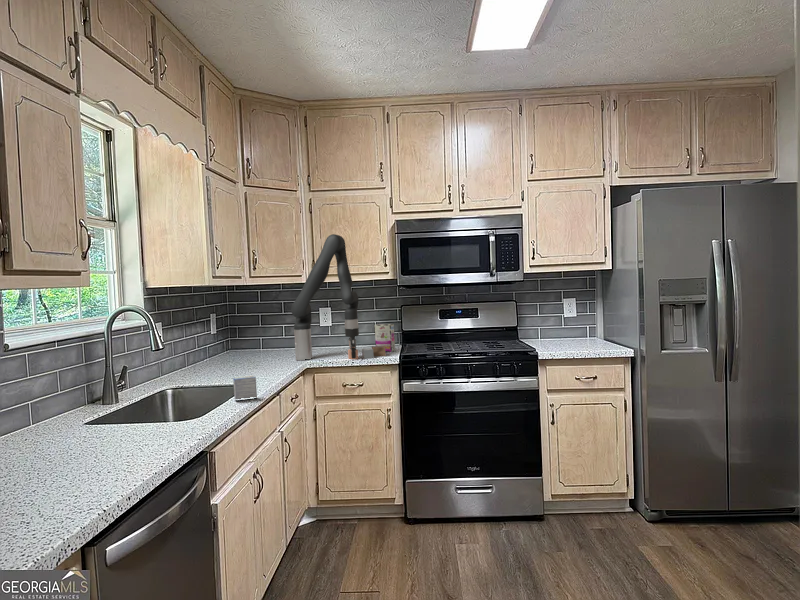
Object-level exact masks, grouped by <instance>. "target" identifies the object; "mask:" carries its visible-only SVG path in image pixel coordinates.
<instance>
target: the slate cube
mask: <svg viewBox="0 0 800 600" xmlns="http://www.w3.org/2000/svg"><path fill="white" fill-rule="evenodd" d="M361 353H362V355H361V356H362V357H363V358H362V359H364V360H369V359H370V360H371V359H374V358H375V357H374V355H373V349H372V347H371V348H362V349H361Z"/></svg>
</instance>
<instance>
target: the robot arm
mask: <svg viewBox="0 0 800 600" xmlns="http://www.w3.org/2000/svg"><path fill="white" fill-rule="evenodd" d="M334 257H335V261H336V274H337V278H338V282H339V286H340V299H341V301H342V302H343V304H344V305H346V309H345V310H344V336H345V337H348V346H349V350H350V349H351V354H352V358H356V352H355V351H356V349H357V339H356V337H358V336H359V335H360V330H359V321H358V320H359V318H358V307H359V300H360V299H359V295H358V293H357V291H356V292H355V291H353V290H352V287H353V280H352V279H353V278H352V276H351V271H350V266H349V263H348V258H347V249H346V240H345V239H344V237H342V236H341V235H338V234H335V233H334V234H330V235H328V236H327V237H326V239H325V240H324V243H323V247H322V249H321V251H320V254H319V255H318V258H317V259H316V260H315V263H314V264H313V267H312V269H311V270H310V272H309V274H308V277H307V278H306V281H305V282H304V285H303V286H302V289H301V291H300V292H299V294H298V295H297V297H296V299H295V300H294V301H293V303H292V305H291V307H290V311H291V314H292V316H294V317H295V322H294V325H293V329H294V330H293V331H294V332H293V333H294V353H295V361H306V360H305V359H310V360H312V359H313V346H312V329H311V326H312V307H311V304H310V303H311V300H312V299H313V297H314V296H315V294H316V293H317V292H318V291H319V290H320V288H322V287H323V285H324V282H325V281H326V280H327V277H328V275H329V271H330V266H331V262H332V260H333V258H334ZM311 358H312V359H311Z"/></svg>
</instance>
